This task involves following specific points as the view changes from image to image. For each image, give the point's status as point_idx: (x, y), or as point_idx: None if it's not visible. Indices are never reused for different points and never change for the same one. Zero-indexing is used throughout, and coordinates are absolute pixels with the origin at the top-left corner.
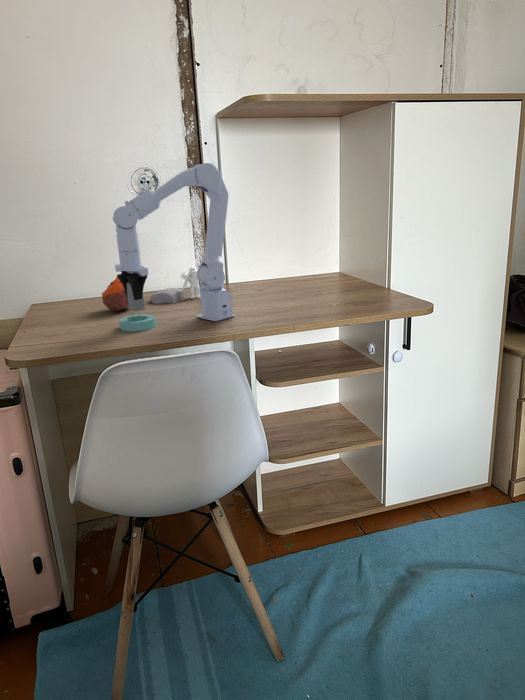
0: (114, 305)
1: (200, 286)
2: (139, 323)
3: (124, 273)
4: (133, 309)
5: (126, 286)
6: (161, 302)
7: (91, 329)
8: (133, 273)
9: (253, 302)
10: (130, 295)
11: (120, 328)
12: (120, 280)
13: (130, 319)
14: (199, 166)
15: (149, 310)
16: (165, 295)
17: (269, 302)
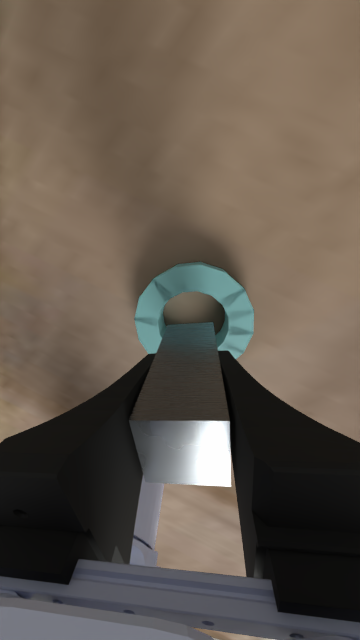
0: None
1: (132, 547)
2: (138, 305)
3: (301, 553)
4: (178, 326)
5: (221, 393)
6: None
7: (309, 177)
8: (43, 563)
9: (186, 533)
10: (184, 358)
11: (220, 268)
12: (292, 418)
13: (227, 315)
14: None
15: (341, 419)
16: None
17: (163, 540)
